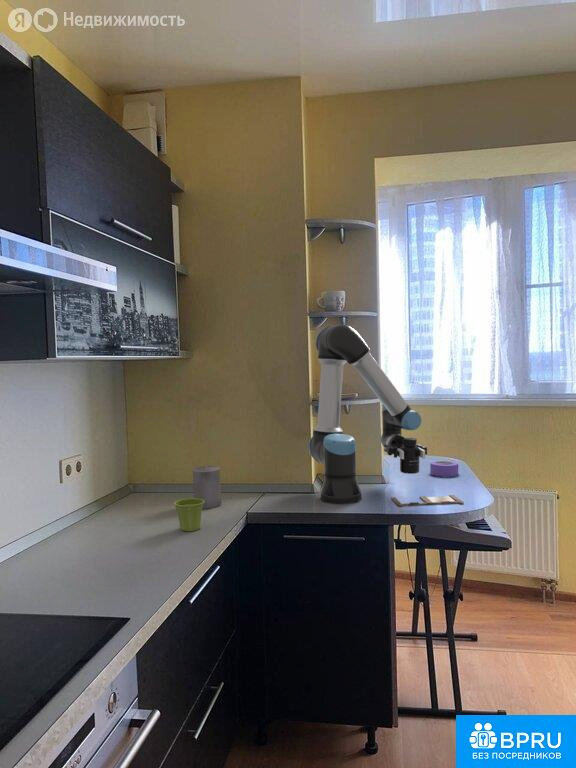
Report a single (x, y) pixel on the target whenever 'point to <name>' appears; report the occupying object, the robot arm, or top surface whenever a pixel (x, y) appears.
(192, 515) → the plant pot
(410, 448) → the supplement bottle
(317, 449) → the robot arm
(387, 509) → the top surface
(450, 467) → the tape roll
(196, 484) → the pillar candle
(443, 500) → the flat wooden frame
